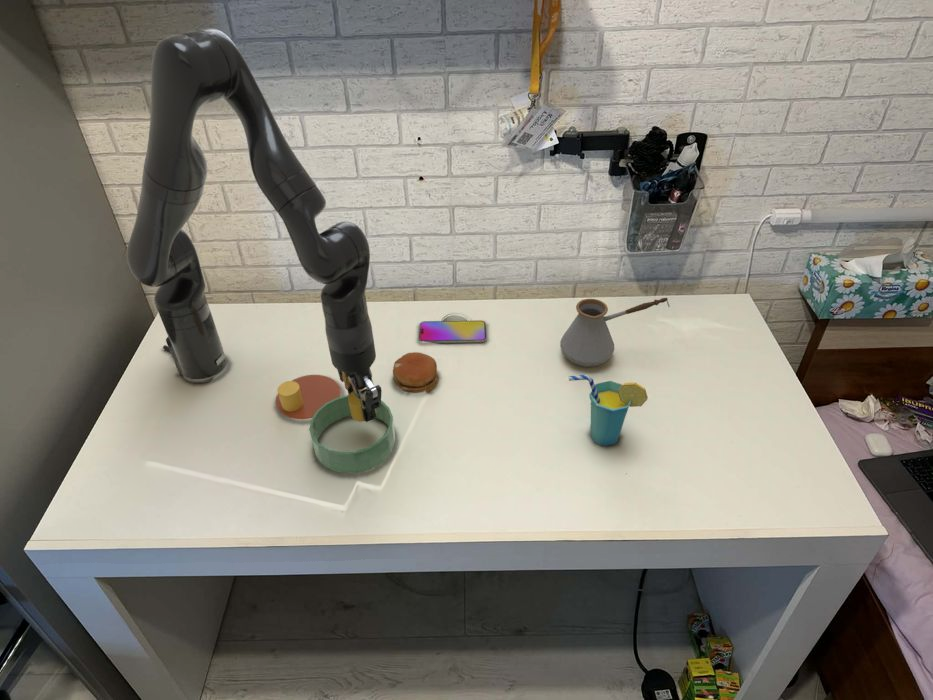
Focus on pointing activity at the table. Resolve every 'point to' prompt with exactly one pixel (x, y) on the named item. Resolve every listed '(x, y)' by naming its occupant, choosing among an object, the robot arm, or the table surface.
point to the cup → (611, 407)
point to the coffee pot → (593, 332)
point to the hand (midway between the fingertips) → (363, 410)
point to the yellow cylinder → (290, 396)
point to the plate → (312, 395)
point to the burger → (415, 372)
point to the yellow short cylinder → (356, 407)
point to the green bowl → (354, 459)
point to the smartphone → (452, 331)
